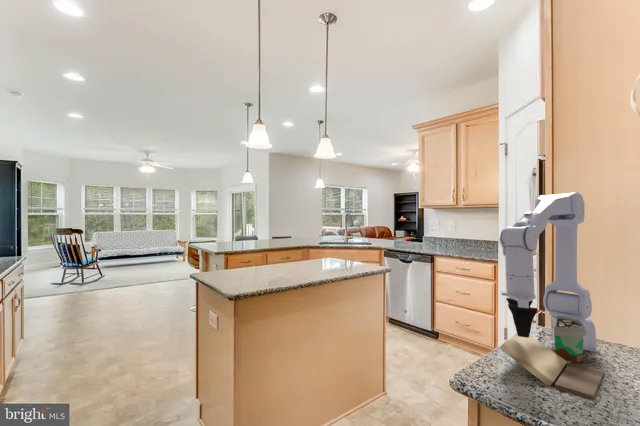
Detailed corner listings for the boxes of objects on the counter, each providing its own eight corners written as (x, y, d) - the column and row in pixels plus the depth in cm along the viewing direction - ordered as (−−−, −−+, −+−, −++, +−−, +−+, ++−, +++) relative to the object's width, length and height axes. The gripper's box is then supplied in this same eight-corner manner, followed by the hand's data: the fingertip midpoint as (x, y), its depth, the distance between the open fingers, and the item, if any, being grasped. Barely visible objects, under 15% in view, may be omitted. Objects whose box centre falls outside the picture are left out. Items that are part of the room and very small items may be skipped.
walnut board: (570, 369, 75) (569, 362, 75) (604, 378, 70) (604, 370, 70) (555, 392, 65) (554, 384, 65) (594, 404, 61) (593, 395, 61)
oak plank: (564, 366, 76) (567, 361, 75) (549, 386, 66) (553, 382, 66) (518, 334, 83) (521, 329, 82) (499, 348, 74) (502, 343, 73)
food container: (589, 375, 72) (586, 332, 72) (556, 368, 76) (553, 327, 76) (588, 357, 81) (586, 319, 82) (559, 351, 85) (557, 315, 86)
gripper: (499, 271, 84) (501, 321, 83) (501, 278, 71) (503, 338, 70) (531, 272, 80) (533, 325, 80) (539, 280, 68) (541, 343, 67)
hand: (521, 331), depth 75 cm, fingers open, 7 cm apart
